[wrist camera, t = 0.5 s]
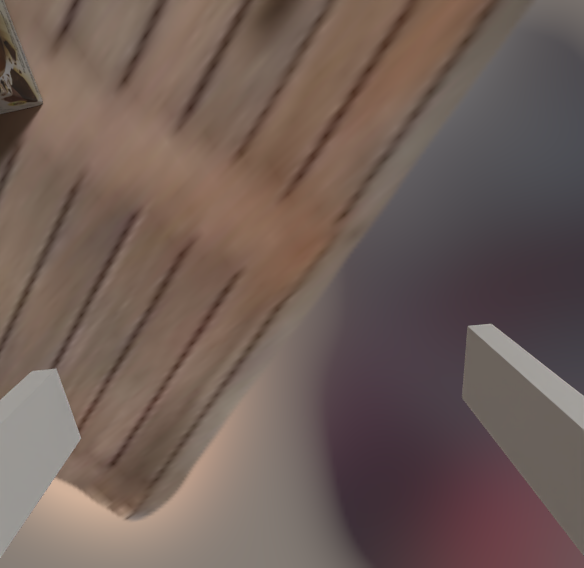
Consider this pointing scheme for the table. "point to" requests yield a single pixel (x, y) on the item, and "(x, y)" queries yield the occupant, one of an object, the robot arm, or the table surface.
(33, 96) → the coffee box
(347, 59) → the table surface
